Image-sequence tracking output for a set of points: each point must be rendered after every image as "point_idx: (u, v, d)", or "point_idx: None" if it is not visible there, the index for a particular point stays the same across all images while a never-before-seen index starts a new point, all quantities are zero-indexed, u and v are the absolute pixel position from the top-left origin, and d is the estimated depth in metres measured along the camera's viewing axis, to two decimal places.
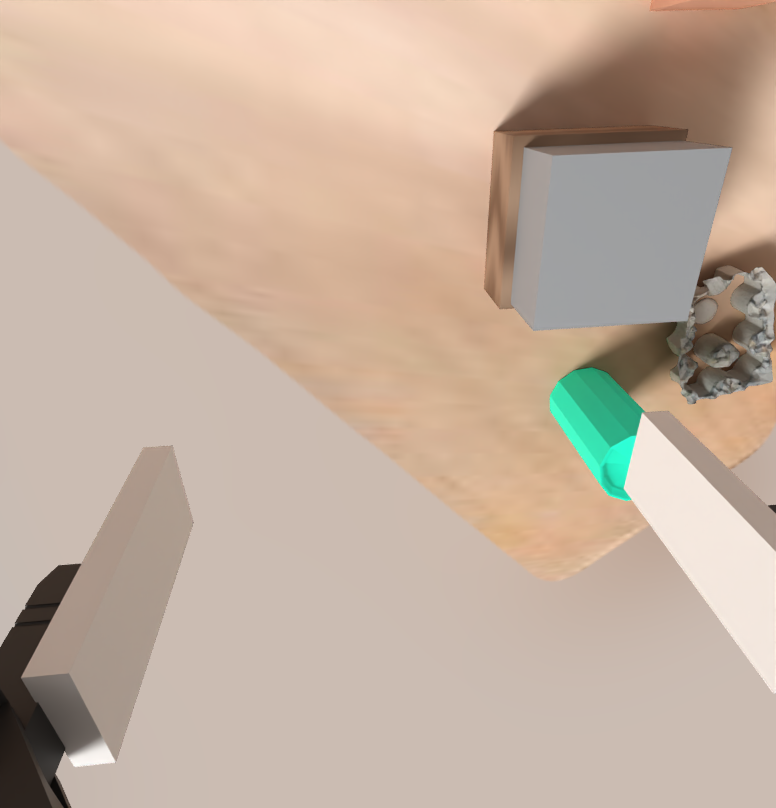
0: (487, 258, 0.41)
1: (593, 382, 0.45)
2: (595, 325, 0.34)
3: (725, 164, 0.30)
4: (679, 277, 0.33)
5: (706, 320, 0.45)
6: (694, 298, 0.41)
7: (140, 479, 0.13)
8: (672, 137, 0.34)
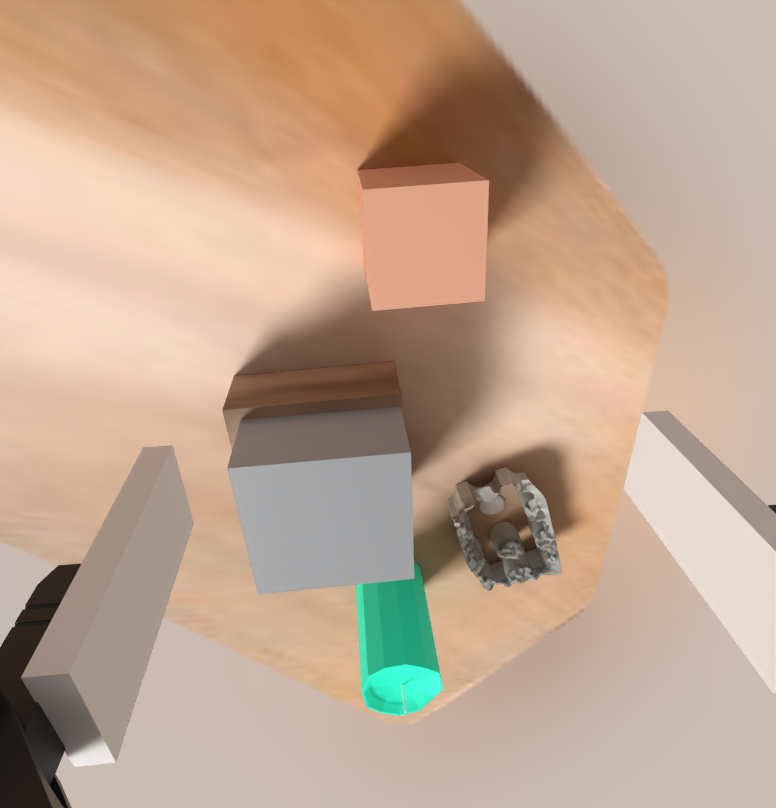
0: None
1: None
2: (321, 586, 0.35)
3: (408, 464, 0.30)
4: (393, 548, 0.33)
5: (496, 512, 0.46)
6: (462, 510, 0.41)
7: (140, 478, 0.13)
8: (386, 400, 0.34)
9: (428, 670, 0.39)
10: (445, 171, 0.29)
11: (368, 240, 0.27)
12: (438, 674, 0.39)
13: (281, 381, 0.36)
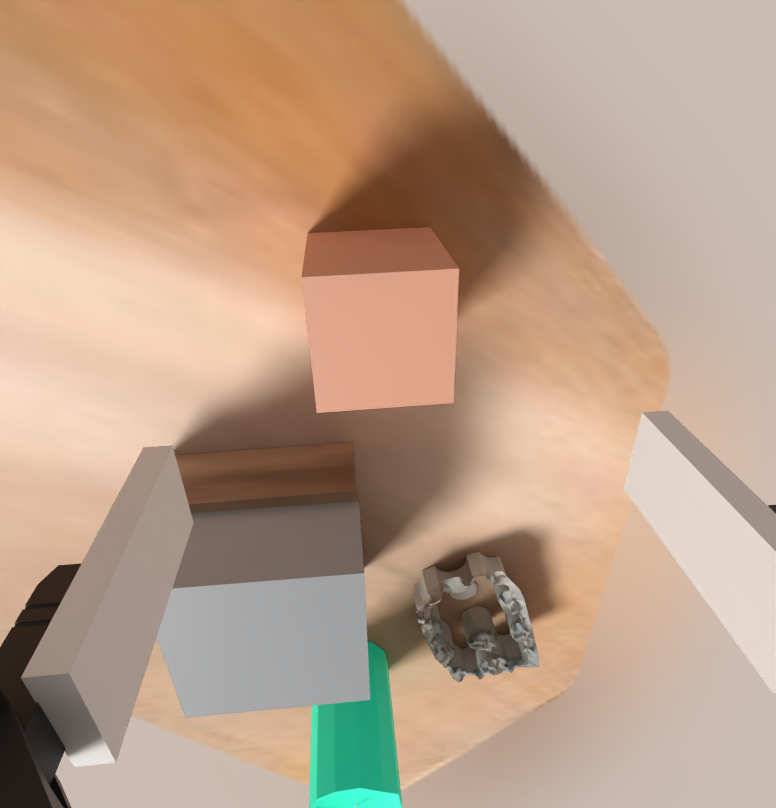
0: None
1: None
2: (261, 707, 0.30)
3: (362, 585, 0.25)
4: (345, 670, 0.28)
5: (467, 597, 0.41)
6: (428, 604, 0.37)
7: (140, 479, 0.13)
8: (339, 498, 0.29)
9: (385, 792, 0.34)
10: (410, 244, 0.24)
11: (310, 334, 0.22)
12: (397, 795, 0.35)
13: (219, 466, 0.31)
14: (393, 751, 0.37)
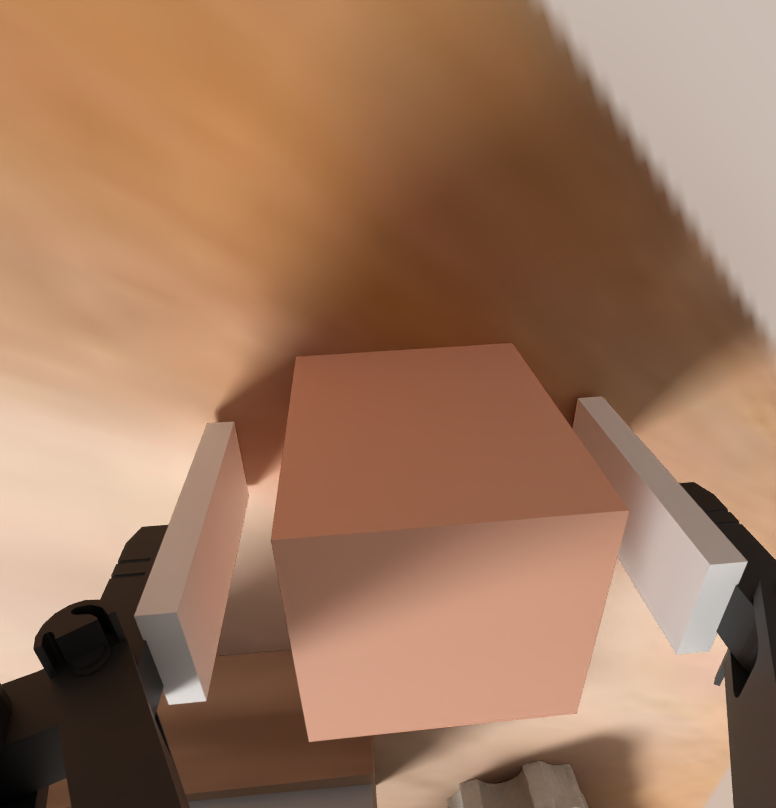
0: None
1: None
2: None
3: None
4: None
5: None
6: None
7: (209, 450, 0.14)
8: (345, 783, 0.17)
9: None
10: (491, 402, 0.12)
11: (293, 633, 0.10)
12: None
13: None
14: None
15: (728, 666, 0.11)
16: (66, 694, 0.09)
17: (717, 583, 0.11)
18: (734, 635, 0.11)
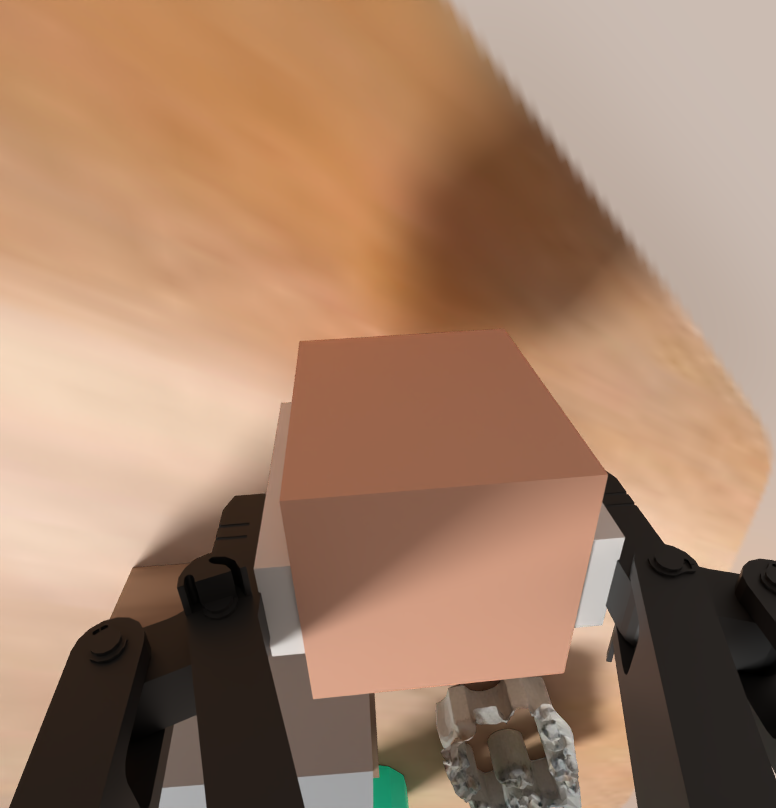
0: None
1: None
2: None
3: (369, 784, 0.18)
4: None
5: None
6: (456, 741, 0.30)
7: None
8: None
9: None
10: (483, 381, 0.13)
11: (299, 591, 0.11)
12: None
13: None
14: None
15: (616, 643, 0.11)
16: (198, 633, 0.10)
17: (599, 558, 0.11)
18: (618, 613, 0.11)
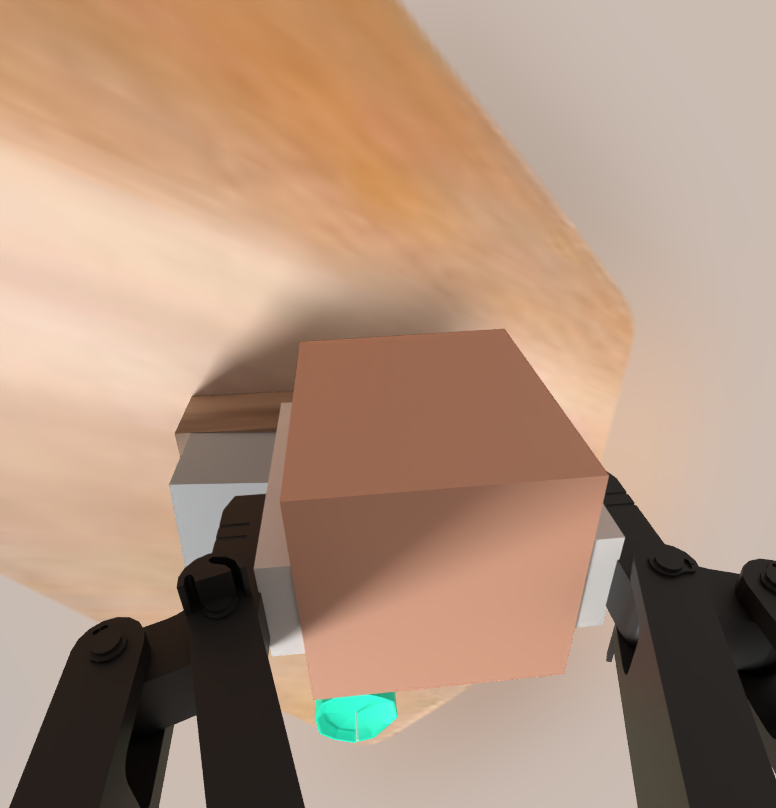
0: None
1: None
2: None
3: None
4: None
5: None
6: None
7: (288, 426, 0.15)
8: None
9: (382, 698, 0.38)
10: (483, 382, 0.13)
11: (299, 592, 0.11)
12: (393, 702, 0.39)
13: (238, 404, 0.36)
14: None
15: (616, 643, 0.11)
16: (198, 633, 0.10)
17: (598, 558, 0.11)
18: (618, 613, 0.11)
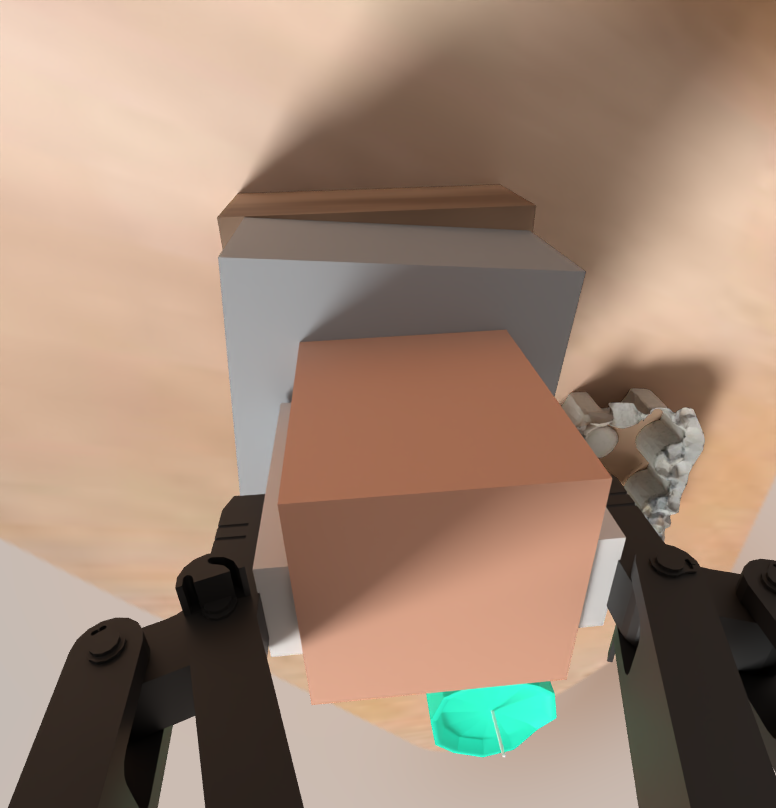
0: None
1: None
2: None
3: (574, 299, 0.16)
4: None
5: (597, 456, 0.31)
6: (590, 425, 0.26)
7: None
8: (509, 218, 0.19)
9: (541, 689, 0.24)
10: (485, 383, 0.13)
11: (297, 596, 0.11)
12: (552, 695, 0.25)
13: (318, 197, 0.21)
14: None
15: (617, 644, 0.11)
16: (197, 633, 0.10)
17: (600, 559, 0.11)
18: (619, 613, 0.11)
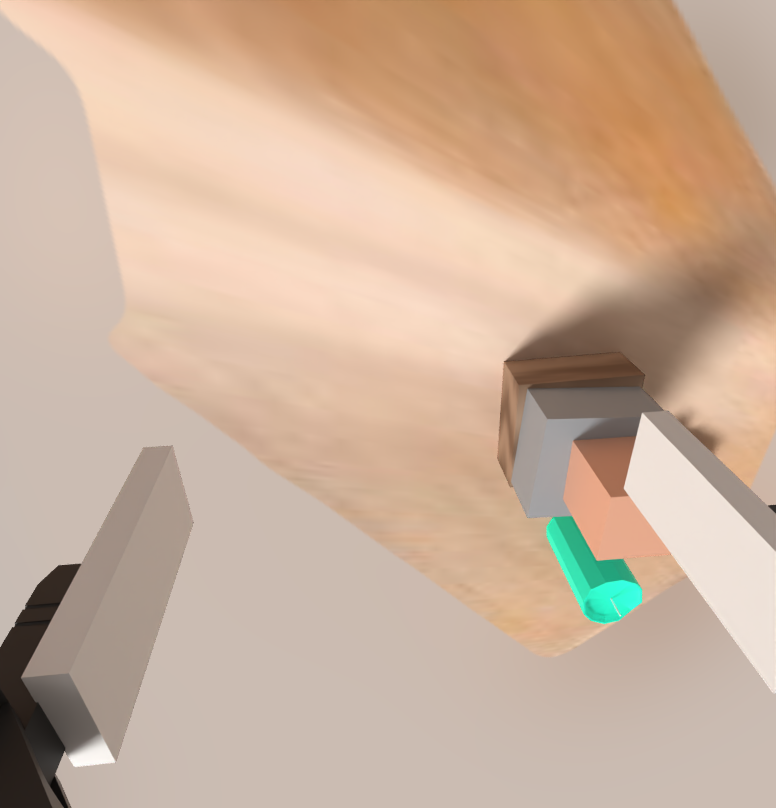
0: (499, 440, 0.54)
1: None
2: None
3: None
4: None
5: None
6: None
7: (140, 478, 0.13)
8: (633, 379, 0.47)
9: (636, 585, 0.51)
10: None
11: (606, 523, 0.38)
12: (640, 590, 0.52)
13: (545, 365, 0.49)
14: (628, 568, 0.54)
15: None
16: None
17: None
18: None
